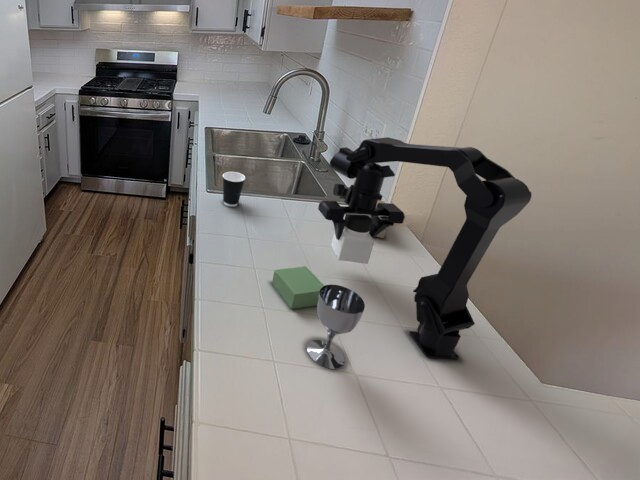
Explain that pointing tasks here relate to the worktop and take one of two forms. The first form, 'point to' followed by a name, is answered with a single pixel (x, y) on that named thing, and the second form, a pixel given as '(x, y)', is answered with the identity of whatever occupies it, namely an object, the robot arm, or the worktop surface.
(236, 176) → the dixie cup
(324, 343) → the wine glass
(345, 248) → the medicine bottle
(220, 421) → the worktop surface
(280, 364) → the worktop surface
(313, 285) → the green block
